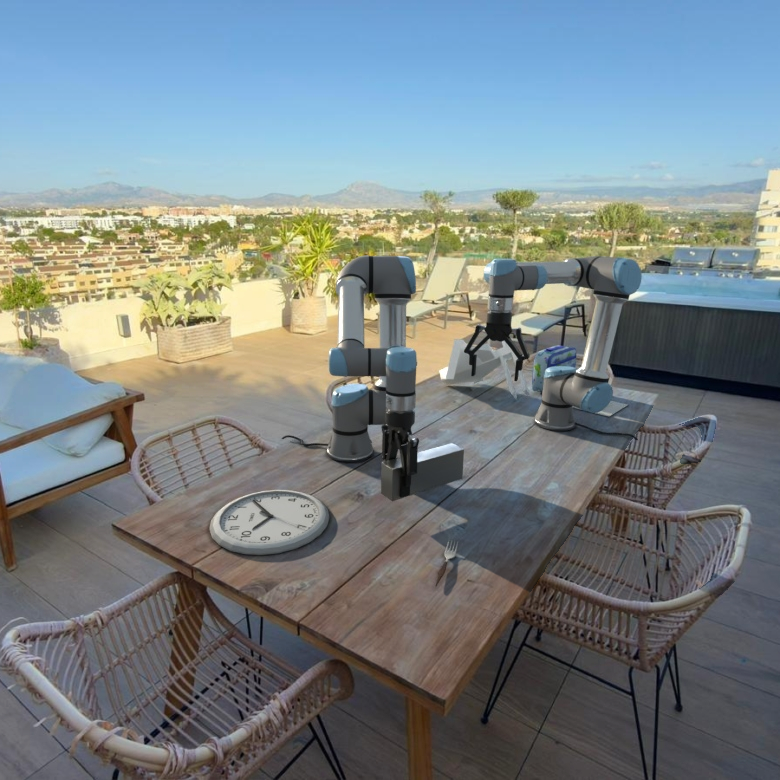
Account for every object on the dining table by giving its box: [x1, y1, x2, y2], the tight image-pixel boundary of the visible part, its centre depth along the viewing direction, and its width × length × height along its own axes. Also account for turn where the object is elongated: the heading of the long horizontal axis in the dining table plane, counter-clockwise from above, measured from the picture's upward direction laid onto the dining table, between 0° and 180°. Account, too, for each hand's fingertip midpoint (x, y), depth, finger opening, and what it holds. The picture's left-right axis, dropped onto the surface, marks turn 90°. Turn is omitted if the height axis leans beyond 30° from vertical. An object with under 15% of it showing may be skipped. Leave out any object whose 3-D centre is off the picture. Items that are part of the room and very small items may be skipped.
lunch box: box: [531, 345, 577, 394], centre depth 245 cm, size 26×11×21 cm, turn 134°
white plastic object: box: [438, 338, 531, 400], centre depth 245 cm, size 37×45×31 cm
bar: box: [380, 442, 465, 502], centre depth 143 cm, size 24×5×9 cm, turn 124°
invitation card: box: [573, 400, 629, 418], centre depth 226 cm, size 21×1×15 cm
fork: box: [435, 540, 459, 587], centre depth 117 cm, size 3×16×2 cm, turn 160°
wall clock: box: [209, 489, 330, 556], centre depth 135 cm, size 30×2×30 cm
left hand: (398, 491), depth 139 cm, fingers closed on bar, 5 cm apart
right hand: (494, 377), depth 166 cm, fingers open, 13 cm apart
